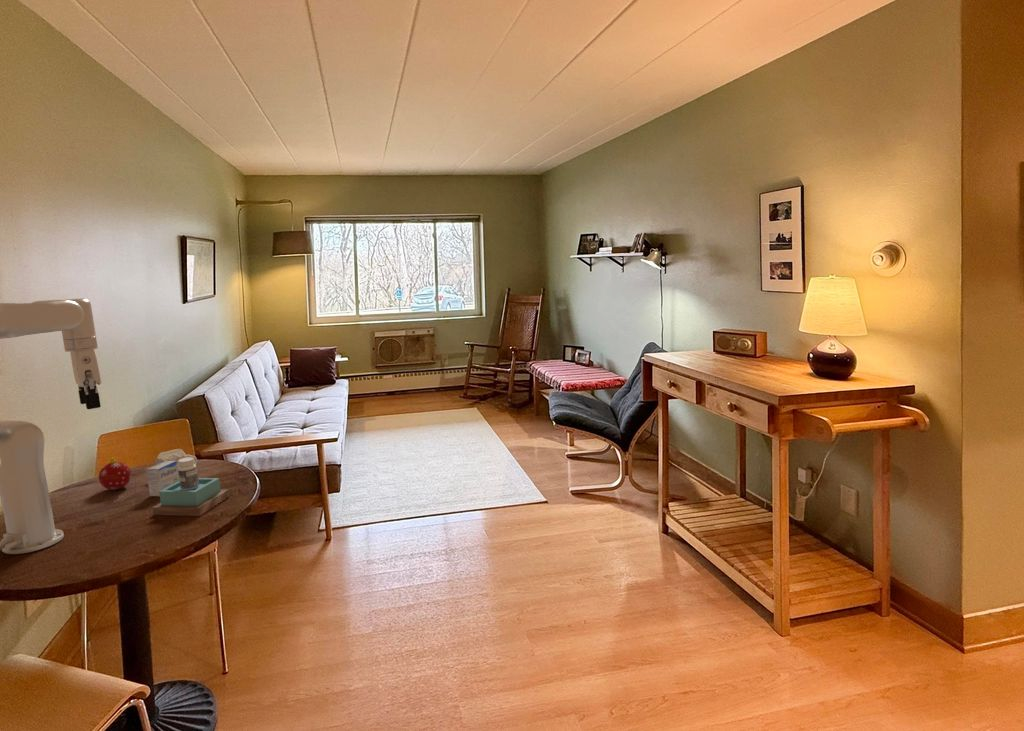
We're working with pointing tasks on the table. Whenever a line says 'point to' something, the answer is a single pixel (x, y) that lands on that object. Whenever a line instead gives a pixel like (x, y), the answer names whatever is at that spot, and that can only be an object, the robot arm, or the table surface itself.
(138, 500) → the table surface
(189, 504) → the teal tray
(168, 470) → the medicine box
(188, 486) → the pill bottle
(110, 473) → the christmas ornament
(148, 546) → the table surface
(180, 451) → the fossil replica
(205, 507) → the walnut slab
